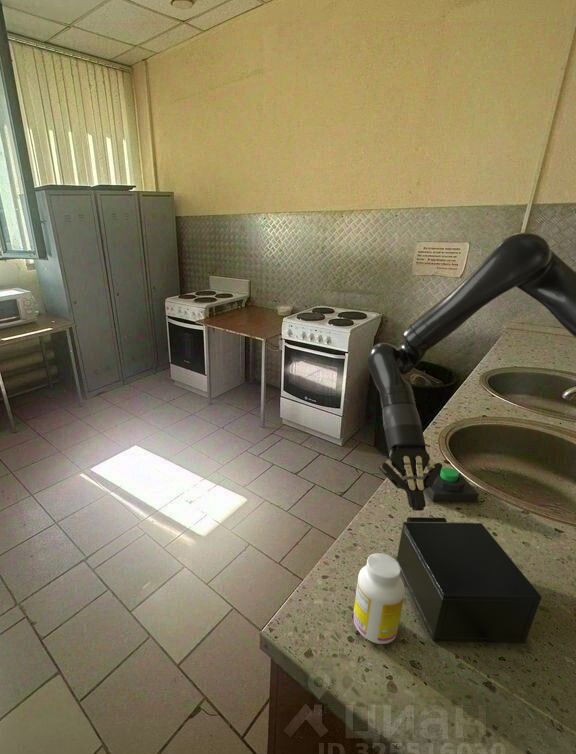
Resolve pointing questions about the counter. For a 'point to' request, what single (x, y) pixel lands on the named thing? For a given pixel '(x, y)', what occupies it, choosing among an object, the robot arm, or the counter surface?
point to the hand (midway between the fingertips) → (418, 510)
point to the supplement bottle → (379, 599)
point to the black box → (465, 584)
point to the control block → (451, 490)
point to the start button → (449, 474)
